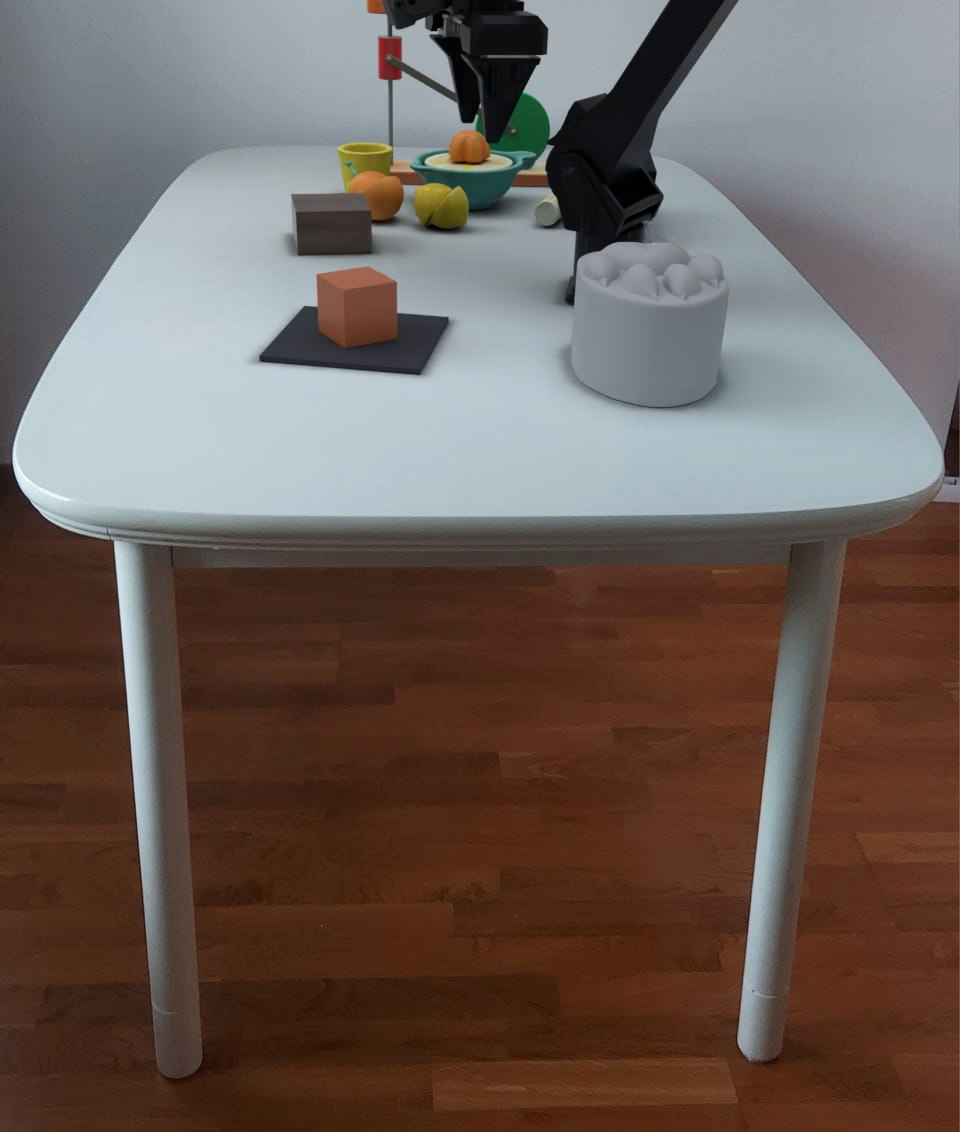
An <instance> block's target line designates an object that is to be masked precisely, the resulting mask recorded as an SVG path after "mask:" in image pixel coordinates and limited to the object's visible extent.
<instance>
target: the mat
mask: <svg viewBox="0 0 960 1132" xmlns="http://www.w3.org/2000/svg"><path fill="white" fill-rule="evenodd" d="M449 318H450V316H443V315H442V316H441V315H429V314H418V313H417V314H415V313H404V312H403V313H402V312H397V339H395V340H389V341H384V342H378V343H373V344H367V345H362V346H357V347H351V348H344V347H342V346H341V345H339V344H338V343H336V342H335V341H333V340H332V339H330V338H329V337H327V336H326V335H324V334H323V333H321V332H319V326H318V306H313V305H304V306H302V308H300V310H299V311H298V312H297V313H296V315H294V316H293V318H292V319H291V320H290V321H289V322H288V323H287V325H285V326H284V328H283V329H281V331H280V332H279V333H278V334H277V335H276V336H275V338H274V339H273V340H272V341H271V342H270V343H269V344H268V345H267V346H266V348H265V349H264V350H263V351H262V352H261V353H260V354H259V355H258V360H259V361H260V362H269V363H270V362H271V363H283V364H294V365H307V366H317V367H331V368H343V369H354V370H364V371H365V370H366V371H377V372H378V371H379V372H389V373H400V374H401V373H402V374H414V375H421V373H422V372H423V369H424V368H425V366H426V364H427V362H428V360H429V359H430V357H431V356H432V353H433V352H434V349H435V347H436V345H437V344H438V342H439V340H440V338H441V336H442V334H443V332H444V331H445V329H446V327H447V325H448V324H449V321H450V319H449Z"/></svg>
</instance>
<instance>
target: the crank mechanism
mask: <svg viewBox="0 0 960 1132" xmlns="http://www.w3.org/2000/svg"><path fill="white" fill-rule="evenodd" d="M365 2H366V12H367V13H369V14H375V15H376V14H377V15H387V14H386V11H385V8H384V5H383V2H382V0H365ZM386 20H387V21H386V23H387V24H386V25H387V27H386V28H387V31H386V32H387V33H386V35H385V34H384V35H378V36H377V75H378V76H377V78H378V79H379V80H383V81H387V130H388V131H387V132H388V134H387V135H388V137H387V140H388V141H387V142H388V144H387V145H389V146H391V147H392V148H393V149H394V81H401V80H402V79H403V73H405V74H407V75H408V76H410V77H411V78H413V79H414V80H417V81H418V82H420V83H422V84H424V85H425V86H426V87H429V88H430V89H432V90H434V91H436V93H439V94H441V95H442V96H444V97H446V98H447V99H449V100H451V101H452V102H454V103H455V104H457V100H456V95H455V91H453V90H451V89H449V88H448V87H446V86H444V85H443V84H441V83H440V82H437V81H436V80H434V79H433V78H431V77H429V76H428V75H426V74H424V73H422V72H421V71H419V70H418V69H417V68H416V69H415V68H414V67H412V66H411V65H410V64H407V63H405V62H404V61H403V37H402V36H401V35H393V26H391V25H390V23H389V20H388V17H387V16H386ZM550 123H551V122H550V118H549V115H548V113H547V110H546V109H545V106H543V104H542V103H541V102H540V100H538V99H537V98H536V97H535V96H533V95H532V94H530V93H528V92H525V91H523V93H522V95H521V97H520V99H519V101H518V103H517V105H516V107H515V109H514V112H513V114H512V116H511V118H510V120H509V122H508V124H507V127H506V129H505V131H504V133H503V135H502V137H501V139H500V142H499V143H496V144H488V145H489V148H490V150H494V151H501V152H517V151H527V152H533V153H535V154H536V160H535V164H534V165H533V167H532V168H530V169H528V170H521V171H520V172H518V173H517V176H516V178H515V180H514V182H513V184H512V186H511V187H545V188H547V187H548V188H550V186H549V184H548V179H547V172H546V171H545V165H546V162H536V161H537V160H539V159H540V157H541V156H542V155H543V154H544V152H545V151H546V149H547V147H548V144H547V141H548V140H549V139H550V136H551V124H550ZM474 125H475V126H474V131H477V132H479V133H480V134H482V135H483V136H484V137H485V135H484V128H483V120H482V111H481V106H479V109H478V112H477V114H476V119H475V124H474ZM411 162H414V159H394V151H393V152H392V160H391V167H390V175H389V176H396V177H398V178H399V180H400V182H401V184H402V185H425V184H424V182H423V180H422V178H421V176H420V175H419V174H417V173H416V172H415V171H414V170H412V169H411V168H410V163H411Z"/></svg>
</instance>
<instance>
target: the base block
mask: <svg viewBox="0 0 960 1132" xmlns="http://www.w3.org/2000/svg"><path fill="white" fill-rule="evenodd" d="M290 200H291V221H292V236H293V240H294V244H295V249H296V253H297V255H299V256H304V255H305V256H307V255H308V256H309V255H339V254H340V255H341V254H342V255H344V254H346V255H347V254H372V253H373V228H372V227H373V225H372V224H373V223H372V222H373V220H372V218H371V209H370V207H369V205H368V203H367V201H366V199H365V197H364V195H363V193H344V192H341V193H338V192H335V193H291V194H290Z"/></svg>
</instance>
